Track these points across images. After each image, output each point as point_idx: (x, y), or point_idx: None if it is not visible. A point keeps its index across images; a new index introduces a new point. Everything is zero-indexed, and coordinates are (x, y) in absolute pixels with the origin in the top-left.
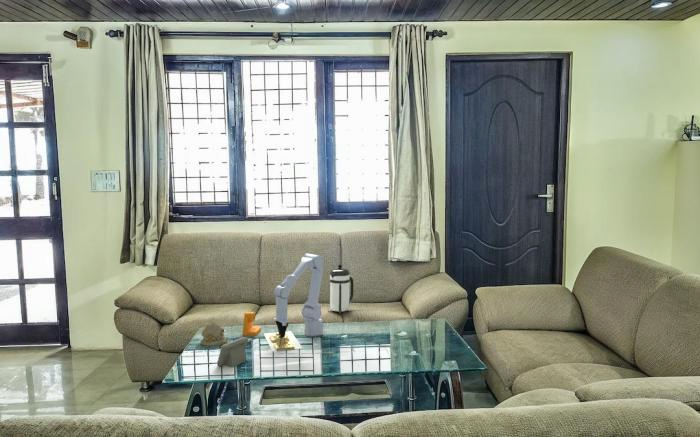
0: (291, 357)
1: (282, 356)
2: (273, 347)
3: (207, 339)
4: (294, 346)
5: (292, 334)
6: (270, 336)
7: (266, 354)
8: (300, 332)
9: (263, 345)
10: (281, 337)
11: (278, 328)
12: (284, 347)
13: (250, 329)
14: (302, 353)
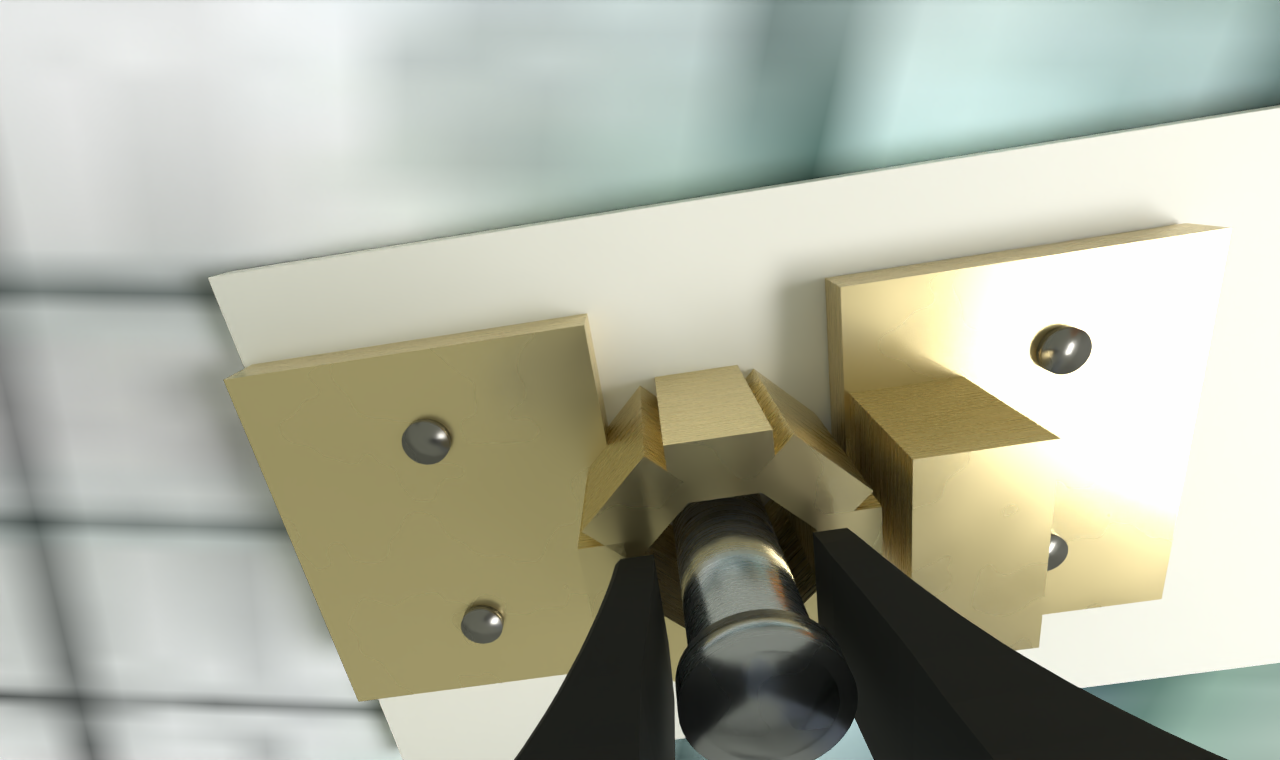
0: (37, 593)
1: (57, 456)
2: (458, 305)
3: None
4: None
5: (1164, 665)
6: (1145, 251)
7: (118, 132)
8: (1262, 753)
9: (743, 58)
10: (679, 558)
11: (911, 668)
12: (315, 540)
13: None
14: (251, 739)
